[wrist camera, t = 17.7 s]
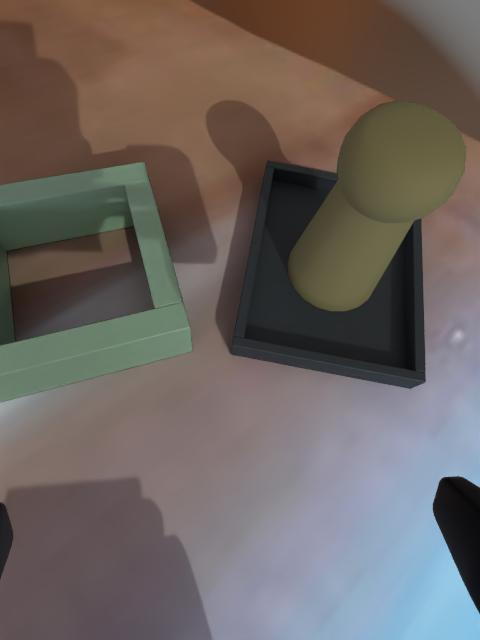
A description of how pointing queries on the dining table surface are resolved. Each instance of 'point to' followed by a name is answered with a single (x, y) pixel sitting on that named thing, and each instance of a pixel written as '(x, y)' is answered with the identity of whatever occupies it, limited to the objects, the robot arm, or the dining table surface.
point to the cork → (375, 201)
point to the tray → (319, 324)
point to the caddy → (75, 221)
